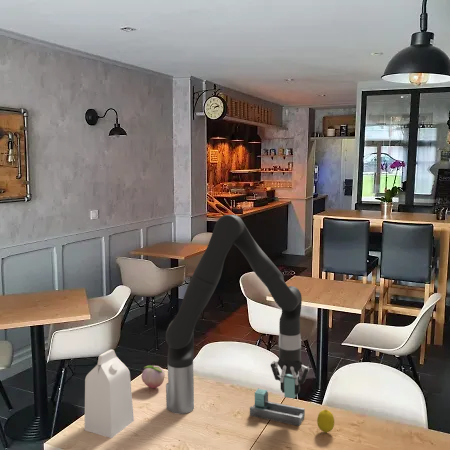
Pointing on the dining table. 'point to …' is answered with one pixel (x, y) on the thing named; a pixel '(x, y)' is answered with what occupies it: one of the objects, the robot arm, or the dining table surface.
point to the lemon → (325, 421)
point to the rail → (275, 410)
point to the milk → (108, 396)
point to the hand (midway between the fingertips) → (290, 392)
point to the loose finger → (289, 386)
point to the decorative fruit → (153, 376)
